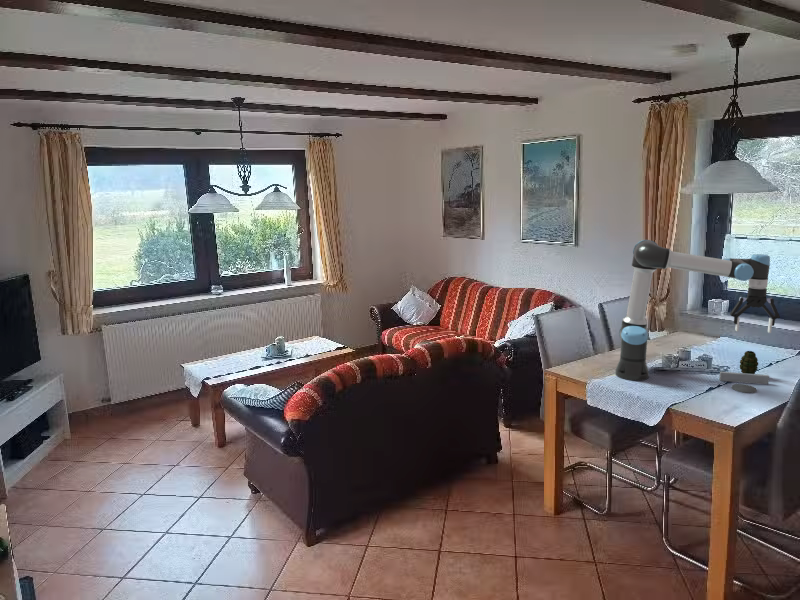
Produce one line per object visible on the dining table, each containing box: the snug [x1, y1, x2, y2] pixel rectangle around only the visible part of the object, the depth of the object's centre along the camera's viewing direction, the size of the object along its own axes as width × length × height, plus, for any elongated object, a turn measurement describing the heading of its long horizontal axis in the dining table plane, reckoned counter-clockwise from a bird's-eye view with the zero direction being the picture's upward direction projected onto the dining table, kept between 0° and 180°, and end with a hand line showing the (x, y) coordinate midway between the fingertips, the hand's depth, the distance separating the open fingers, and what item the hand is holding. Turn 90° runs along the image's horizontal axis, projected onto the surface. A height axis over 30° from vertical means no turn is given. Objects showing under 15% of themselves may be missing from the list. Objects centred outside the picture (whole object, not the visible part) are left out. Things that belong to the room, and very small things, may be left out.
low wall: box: [718, 371, 770, 385], centre depth 272 cm, size 20×2×4 cm, turn 72°
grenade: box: [739, 350, 759, 374], centre depth 279 cm, size 8×8×12 cm
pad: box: [731, 383, 758, 394], centre depth 263 cm, size 10×10×1 cm
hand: (752, 331), depth 276 cm, fingers open, 13 cm apart
